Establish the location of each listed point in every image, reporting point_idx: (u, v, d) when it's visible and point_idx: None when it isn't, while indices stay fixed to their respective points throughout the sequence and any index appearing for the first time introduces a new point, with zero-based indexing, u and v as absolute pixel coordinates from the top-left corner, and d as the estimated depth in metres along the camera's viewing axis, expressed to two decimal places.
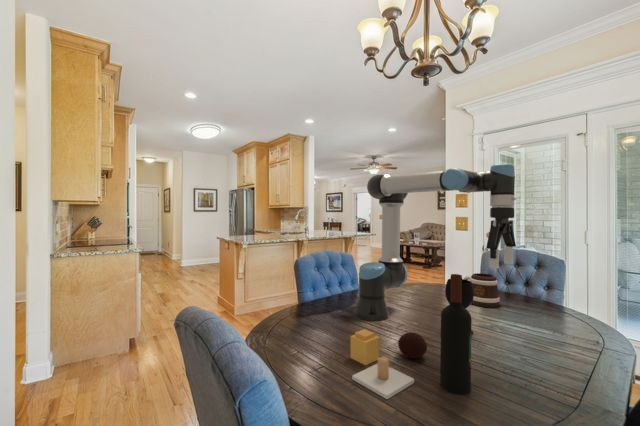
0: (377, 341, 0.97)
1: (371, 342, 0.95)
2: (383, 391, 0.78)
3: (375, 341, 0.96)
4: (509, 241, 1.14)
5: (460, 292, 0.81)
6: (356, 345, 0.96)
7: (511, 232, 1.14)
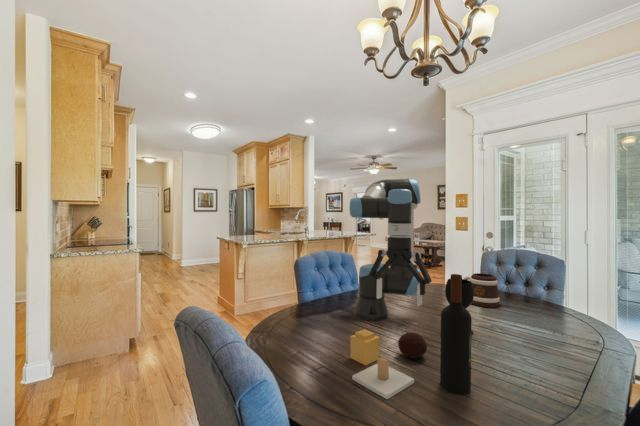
0: (377, 341, 0.97)
1: (371, 342, 0.95)
2: (383, 391, 0.78)
3: (375, 341, 0.96)
4: None
5: (460, 292, 0.81)
6: (356, 345, 0.96)
7: (419, 267, 0.96)
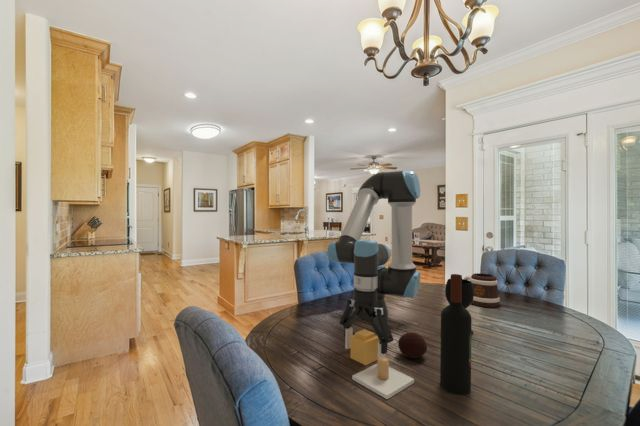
0: (377, 341, 0.97)
1: (371, 342, 0.95)
2: (383, 391, 0.78)
3: (375, 341, 0.96)
4: None
5: (460, 292, 0.81)
6: (356, 345, 0.96)
7: (380, 324, 0.92)
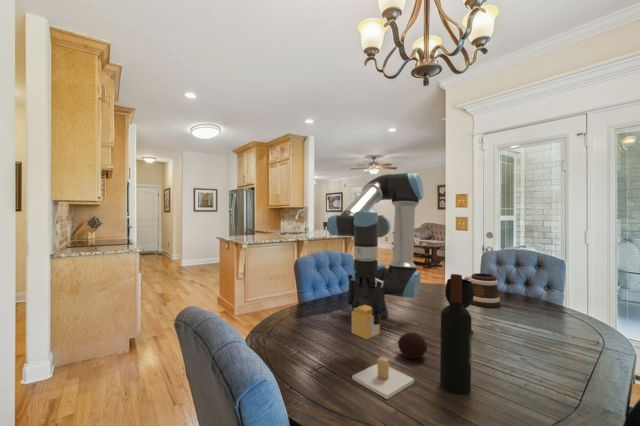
0: None
1: None
2: (383, 391, 0.78)
3: None
4: None
5: (460, 292, 0.81)
6: (356, 320, 0.97)
7: None
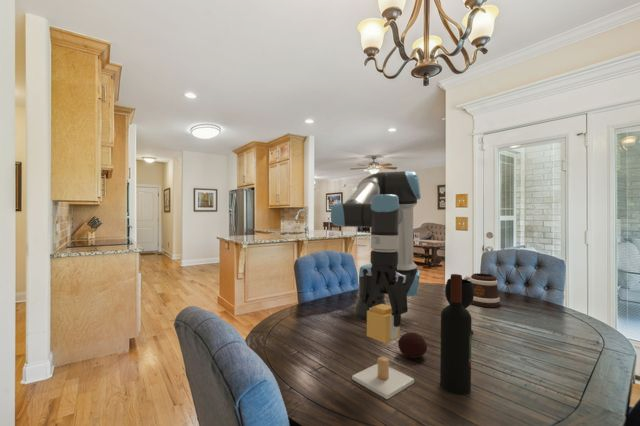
0: None
1: None
2: (383, 391, 0.78)
3: None
4: None
5: (460, 292, 0.81)
6: (373, 320, 0.83)
7: None
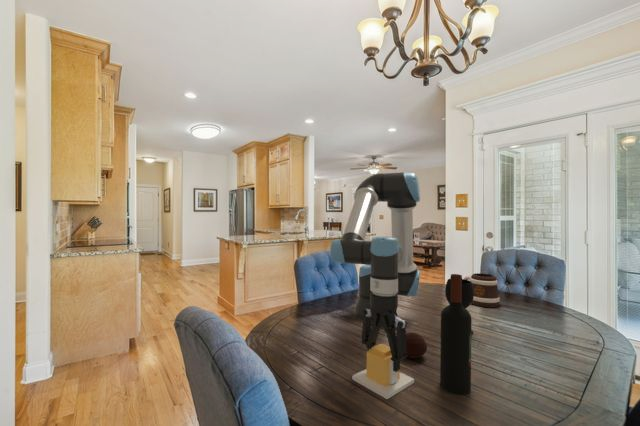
0: None
1: None
2: (383, 391, 0.78)
3: None
4: None
5: (460, 292, 0.81)
6: (373, 362, 0.83)
7: (397, 337, 0.80)
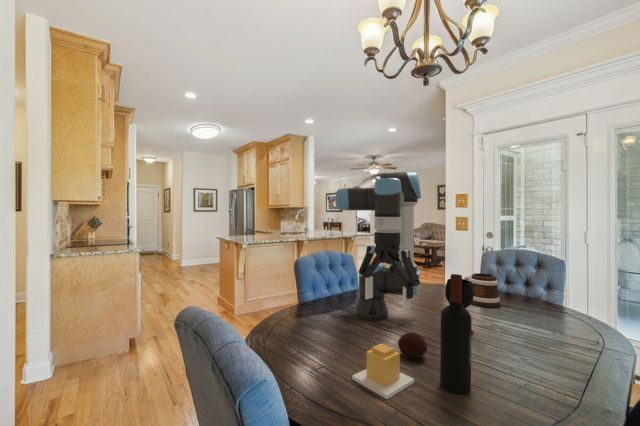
0: (397, 358, 0.83)
1: (391, 359, 0.82)
2: (383, 391, 0.78)
3: (395, 358, 0.83)
4: None
5: (460, 292, 0.81)
6: (373, 362, 0.83)
7: (405, 267, 0.84)
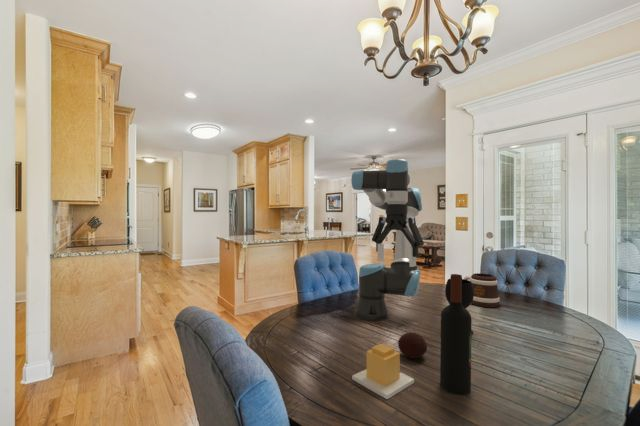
0: (397, 358, 0.83)
1: (391, 359, 0.82)
2: (383, 391, 0.78)
3: (395, 358, 0.83)
4: None
5: (460, 292, 0.81)
6: (373, 362, 0.83)
7: None
